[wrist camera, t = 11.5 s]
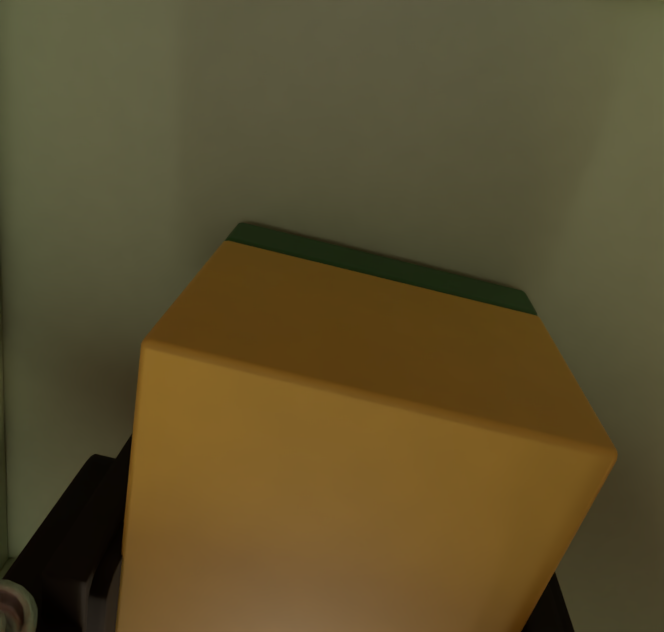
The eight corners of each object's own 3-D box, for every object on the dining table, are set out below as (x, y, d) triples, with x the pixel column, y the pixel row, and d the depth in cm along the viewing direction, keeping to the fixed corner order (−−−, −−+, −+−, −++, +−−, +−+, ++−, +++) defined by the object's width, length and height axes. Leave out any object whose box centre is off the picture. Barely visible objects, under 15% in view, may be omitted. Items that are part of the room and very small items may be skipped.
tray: (1408, 135, 9) (1700, 159, 7) (805, 736, 15) (865, 835, 13) (-41, -243, 8) (-172, -331, 6) (-8, 552, 15) (-66, 627, 13)
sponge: (526, 289, 10) (624, 454, 6) (387, 632, 14) (389, 873, 10) (238, 219, 10) (137, 339, 6) (179, 584, 14) (94, 809, 10)
